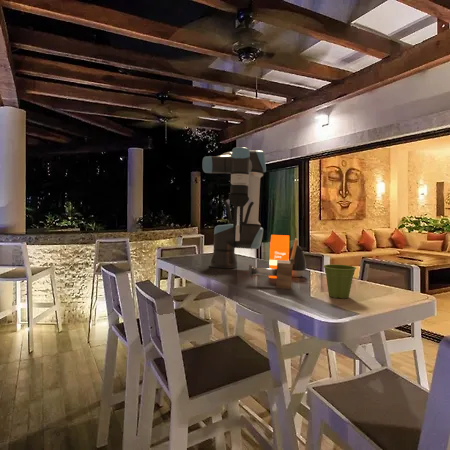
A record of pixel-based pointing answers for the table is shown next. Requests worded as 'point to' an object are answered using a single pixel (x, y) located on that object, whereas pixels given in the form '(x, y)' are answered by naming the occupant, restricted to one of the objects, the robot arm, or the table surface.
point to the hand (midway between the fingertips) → (237, 240)
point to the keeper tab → (294, 248)
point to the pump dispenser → (298, 262)
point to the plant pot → (339, 279)
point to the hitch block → (284, 273)
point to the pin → (262, 271)
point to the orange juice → (278, 250)
